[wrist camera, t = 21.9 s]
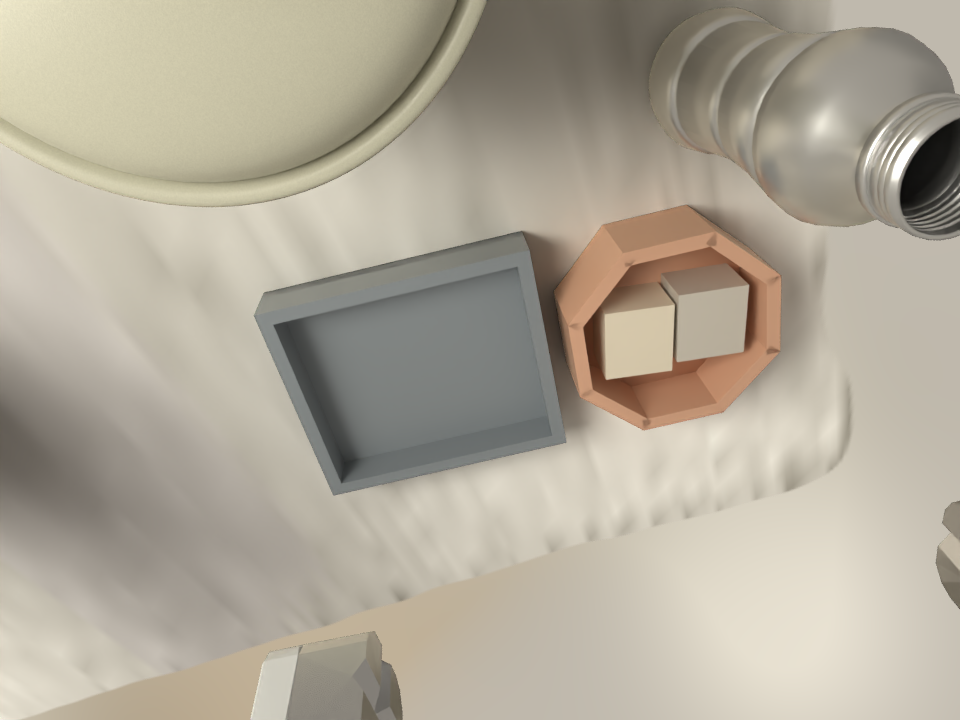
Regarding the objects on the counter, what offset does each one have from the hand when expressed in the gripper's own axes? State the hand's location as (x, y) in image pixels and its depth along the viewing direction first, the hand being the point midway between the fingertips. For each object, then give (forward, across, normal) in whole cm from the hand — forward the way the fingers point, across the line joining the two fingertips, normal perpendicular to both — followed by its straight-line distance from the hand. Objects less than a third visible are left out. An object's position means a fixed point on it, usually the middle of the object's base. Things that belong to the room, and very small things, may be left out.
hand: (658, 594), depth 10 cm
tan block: (+30, -6, +13) cm, 34 cm away
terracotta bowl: (+31, -8, +13) cm, 35 cm away
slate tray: (+31, +7, +13) cm, 34 cm away
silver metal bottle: (+31, -12, 0) cm, 33 cm away
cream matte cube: (+30, -11, +13) cm, 35 cm away
